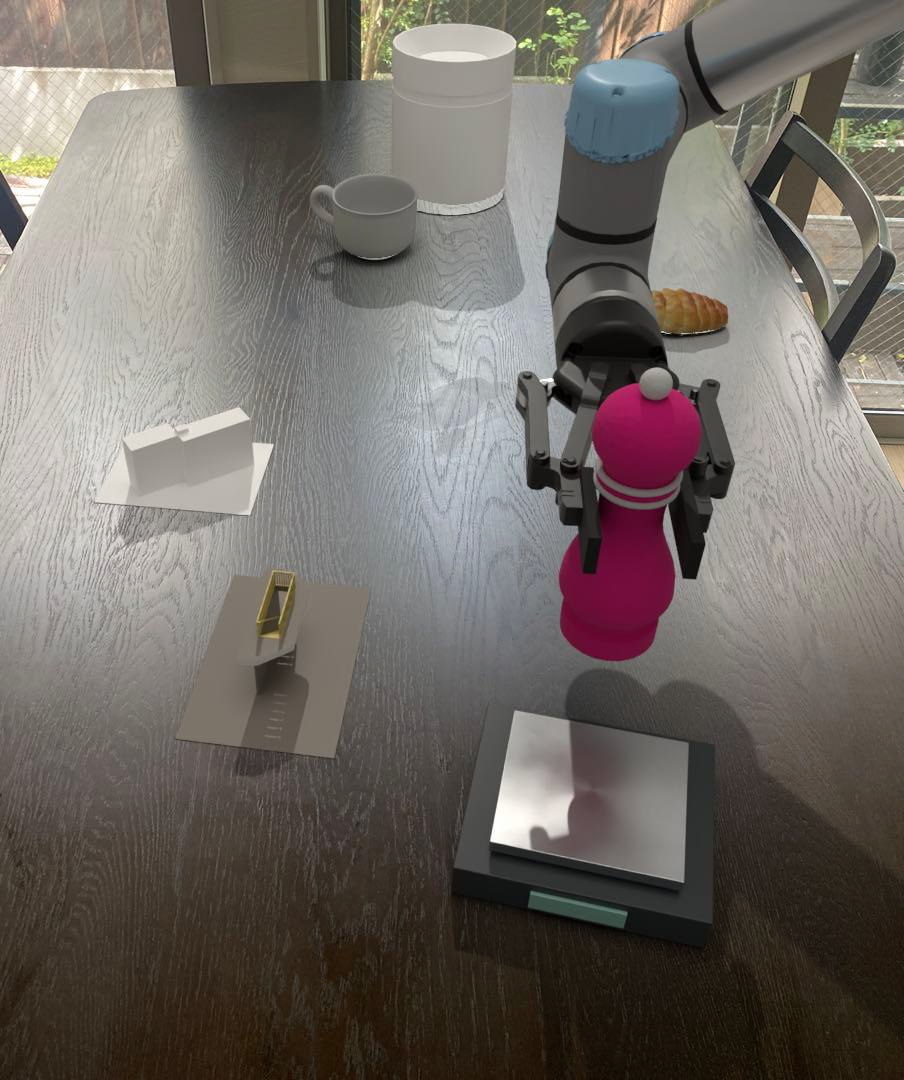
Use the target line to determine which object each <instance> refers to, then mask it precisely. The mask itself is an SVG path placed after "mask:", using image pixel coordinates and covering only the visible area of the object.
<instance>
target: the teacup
mask: <svg viewBox="0 0 904 1080" xmlns="http://www.w3.org/2000/svg"><path fill="white" fill-rule="evenodd" d="M320 195H324V196H326V197H327V198H328V199H329V201H330V203H331V207H332V214H330V213H329V212H328V211H327V210H325V208H324V207H323V206H322V205H321V203H320V201H319V196H320ZM417 199H418V191H417V189H416V187H415V186H414V185H413V184H412V183H410V182H409V181H407V180H405V179H403V178H400V177H397V176H393V175H391V174H387V173H365V174H359V175H355V176H351V177H348V178H346V179H343V180H342V181H341V182H339V183H337V185H335V186H334V188H333V187H332V186H330V185H327V184H320V185H318V186H316V187H314V188H313V190H312V191H311V193H310V196H309V204H310V207H311V209H312V211H313V213H314V215H316V216H317V217H318V218H319V219H320V220H321V221H323V222H324V223H326V224H327V225H329V226H330V228H331V230H332V231H333V232H334V235H335V238H336V241H337V243H338V244H339V245H340V247H341V248H342V249H343V250H344V251H346V252H348V253H349V254H351V255H352V254H353V255H356V256H360V257H366V258H382V257H388V256H392V255H395V254H397V253H399V254H400V253H401V252H403V251H405V250H406V249H407V248H408V247H409V246H410V245H411V243H412V241H413V239H414V237H415V234H416V229H417V214H418V212H417ZM353 255H352V256H353ZM397 255H398V254H397Z"/></svg>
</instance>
